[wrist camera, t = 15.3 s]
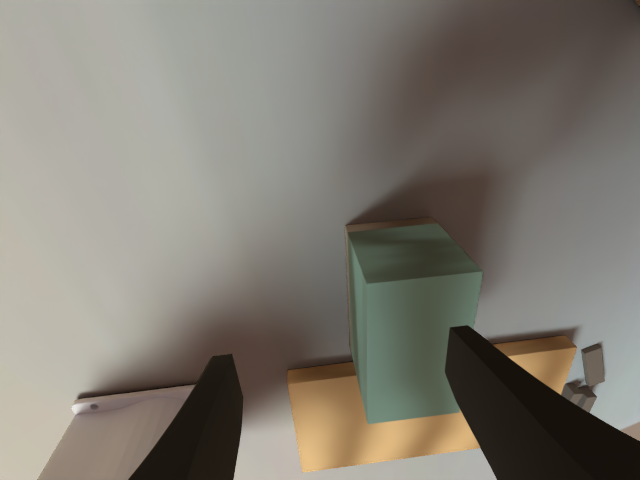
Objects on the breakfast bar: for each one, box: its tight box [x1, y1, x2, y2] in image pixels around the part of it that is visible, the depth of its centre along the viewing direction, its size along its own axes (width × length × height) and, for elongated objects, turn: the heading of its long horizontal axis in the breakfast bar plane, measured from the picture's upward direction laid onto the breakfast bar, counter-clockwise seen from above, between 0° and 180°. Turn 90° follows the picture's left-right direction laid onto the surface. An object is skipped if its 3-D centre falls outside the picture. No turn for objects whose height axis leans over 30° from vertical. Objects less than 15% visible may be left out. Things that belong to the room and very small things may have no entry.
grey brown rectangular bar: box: [561, 384, 583, 405], centre depth 29 cm, size 1×4×1 cm
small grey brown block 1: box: [581, 344, 605, 387], centre depth 27 cm, size 1×4×1 cm, turn 25°
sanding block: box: [345, 217, 483, 424], centre depth 20 cm, size 5×9×6 cm, turn 4°
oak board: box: [287, 335, 577, 473], centre depth 27 cm, size 20×10×1 cm, turn 94°
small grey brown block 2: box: [577, 387, 597, 412], centre depth 29 cm, size 1×4×1 cm
